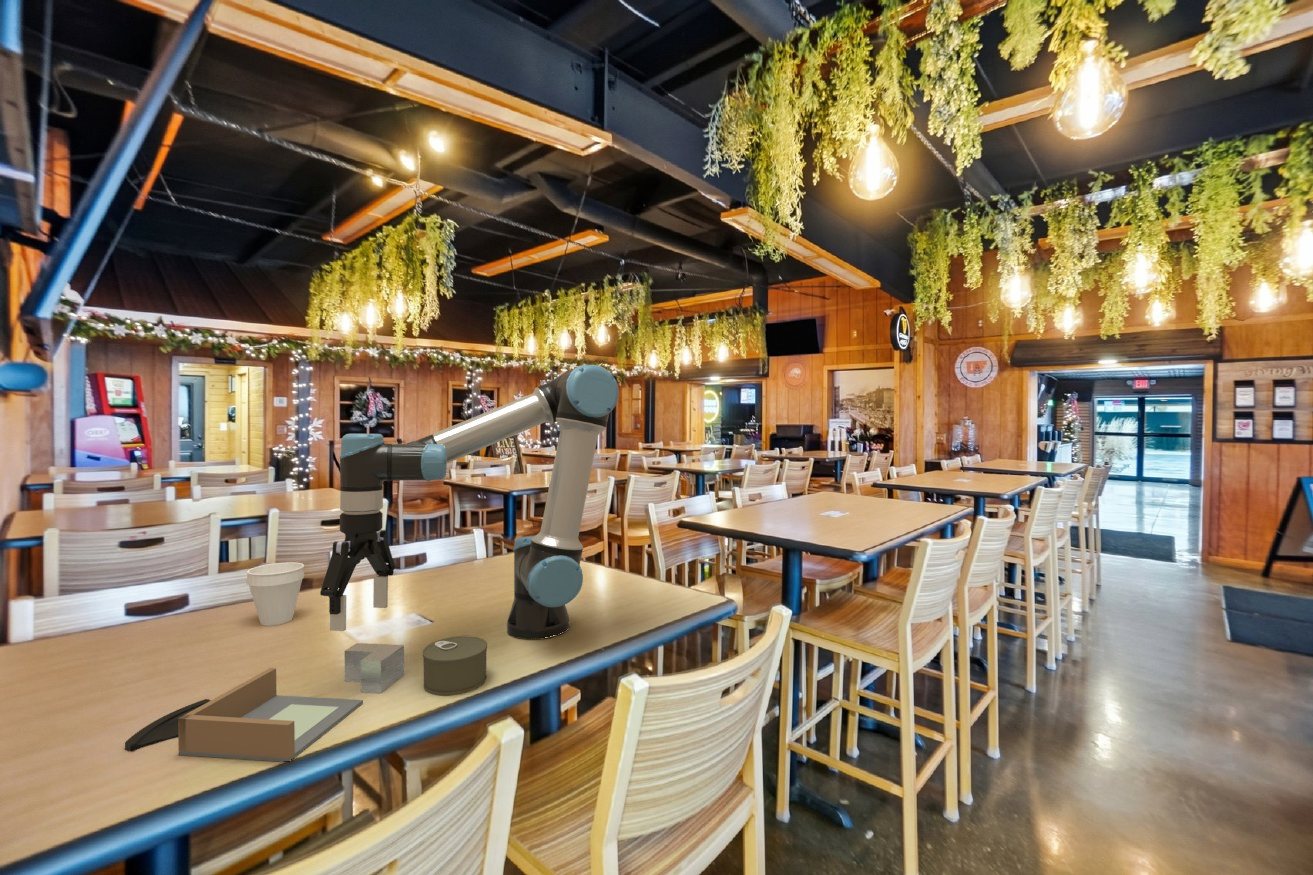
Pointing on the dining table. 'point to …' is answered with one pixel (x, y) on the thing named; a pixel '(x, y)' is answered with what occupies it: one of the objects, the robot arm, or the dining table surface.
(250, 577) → the cup
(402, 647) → the bracket
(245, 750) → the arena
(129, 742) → the dark sector wedge
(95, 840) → the dining table surface
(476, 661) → the can
